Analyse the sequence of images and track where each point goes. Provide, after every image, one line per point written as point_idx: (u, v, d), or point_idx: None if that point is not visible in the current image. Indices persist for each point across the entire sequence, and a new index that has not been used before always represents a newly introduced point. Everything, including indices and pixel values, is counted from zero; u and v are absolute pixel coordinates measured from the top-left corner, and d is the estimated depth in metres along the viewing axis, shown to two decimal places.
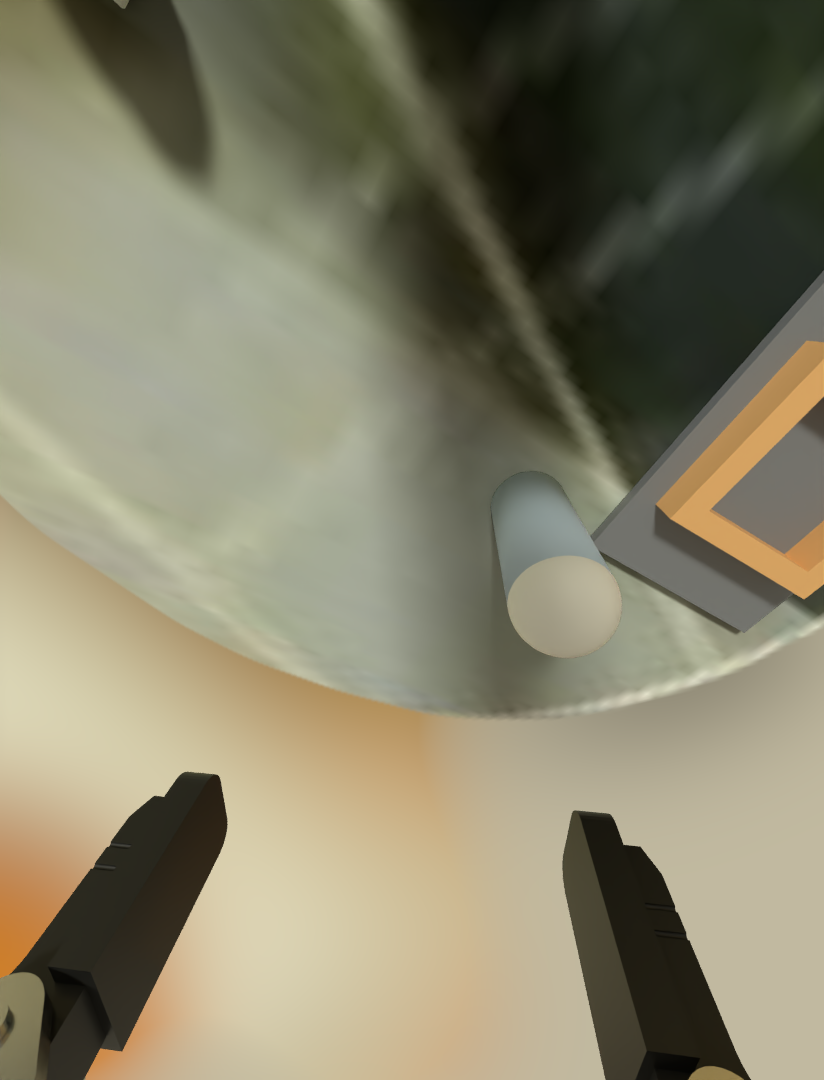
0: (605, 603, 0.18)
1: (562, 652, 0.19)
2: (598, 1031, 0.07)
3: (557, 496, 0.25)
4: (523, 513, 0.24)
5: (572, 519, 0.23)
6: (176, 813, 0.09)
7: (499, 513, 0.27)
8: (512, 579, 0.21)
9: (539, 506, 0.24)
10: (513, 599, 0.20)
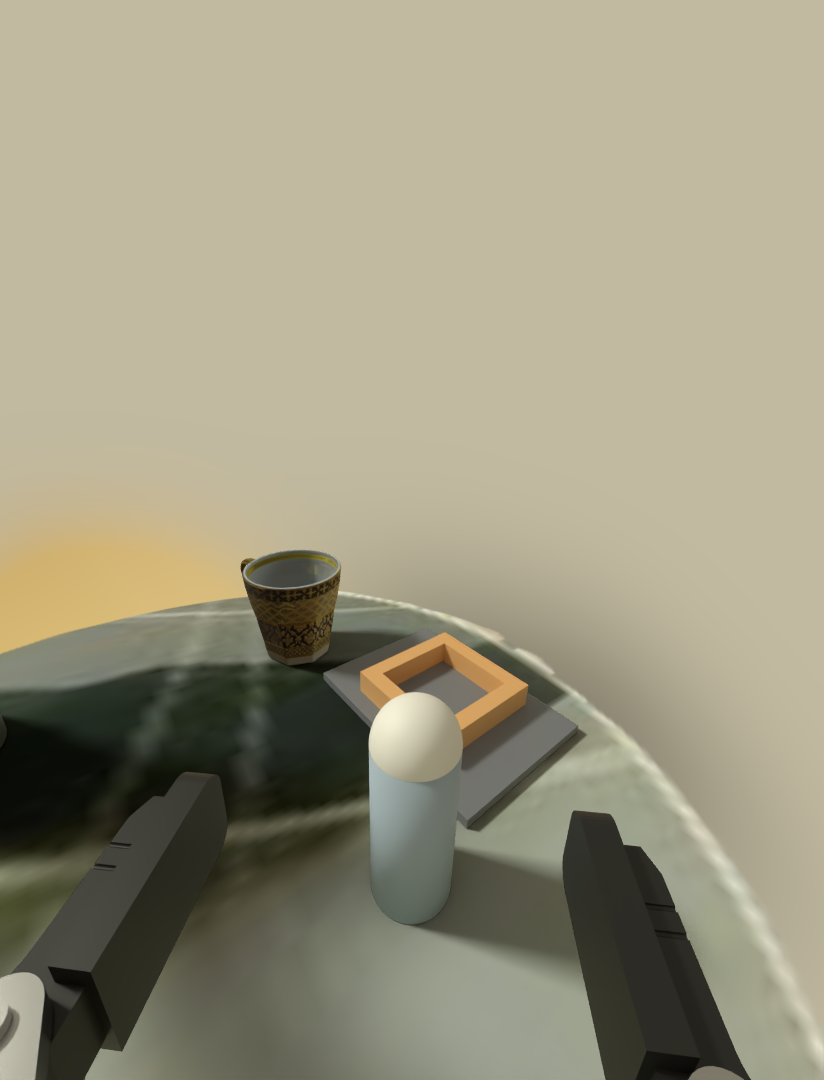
0: (402, 694, 0.24)
1: (434, 718, 0.22)
2: (598, 1031, 0.07)
3: None
4: None
5: None
6: (176, 813, 0.09)
7: (381, 870, 0.24)
8: (383, 777, 0.22)
9: None
10: (389, 762, 0.21)
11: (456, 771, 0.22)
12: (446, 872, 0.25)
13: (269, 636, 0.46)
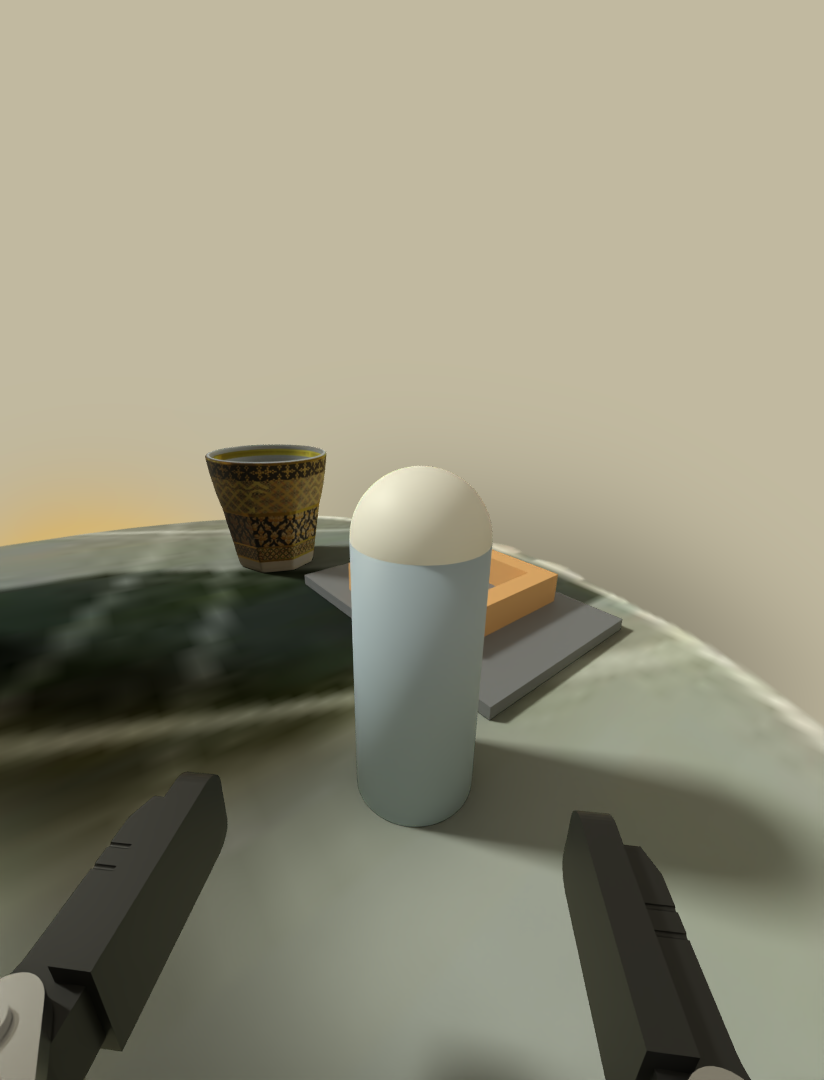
0: None
1: (450, 479, 0.14)
2: (598, 1031, 0.07)
3: None
4: None
5: None
6: (176, 813, 0.09)
7: (370, 742, 0.16)
8: (370, 569, 0.14)
9: None
10: (379, 538, 0.13)
11: (484, 567, 0.14)
12: (467, 747, 0.17)
13: (239, 534, 0.38)
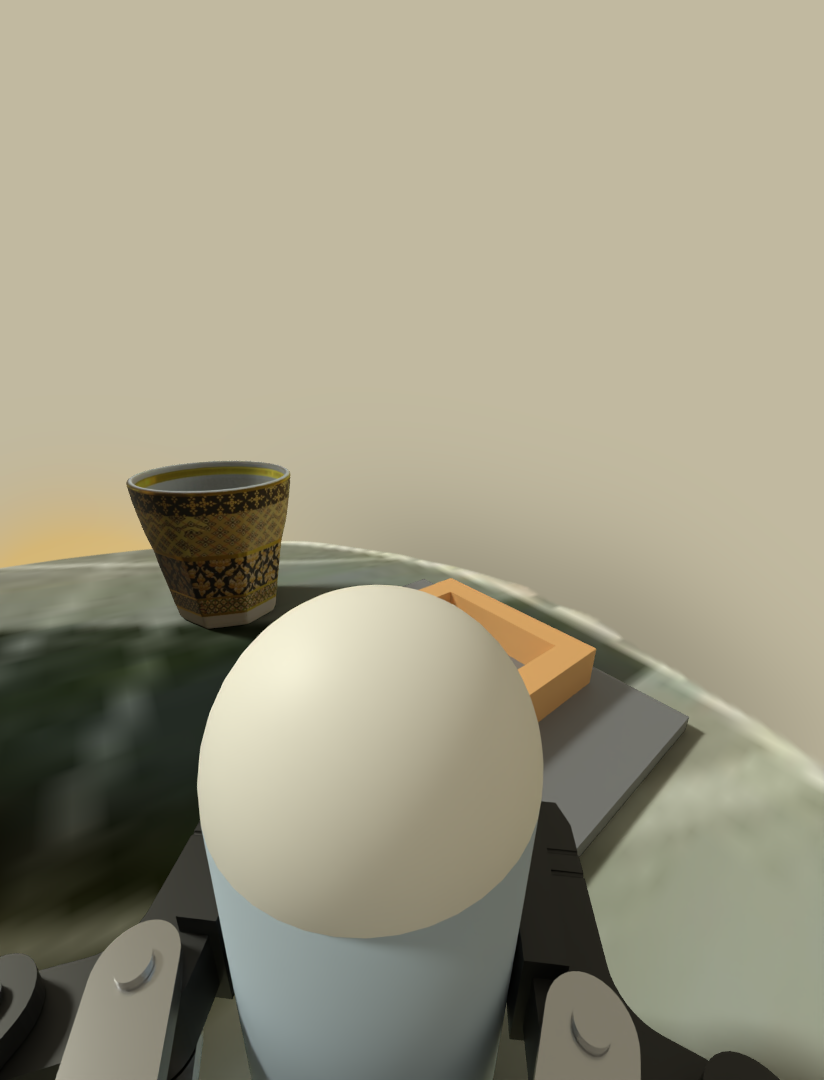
0: None
1: (441, 648, 0.05)
2: None
3: None
4: None
5: None
6: None
7: None
8: (229, 894, 0.05)
9: None
10: (238, 841, 0.05)
11: (526, 862, 0.06)
12: None
13: (175, 581, 0.29)
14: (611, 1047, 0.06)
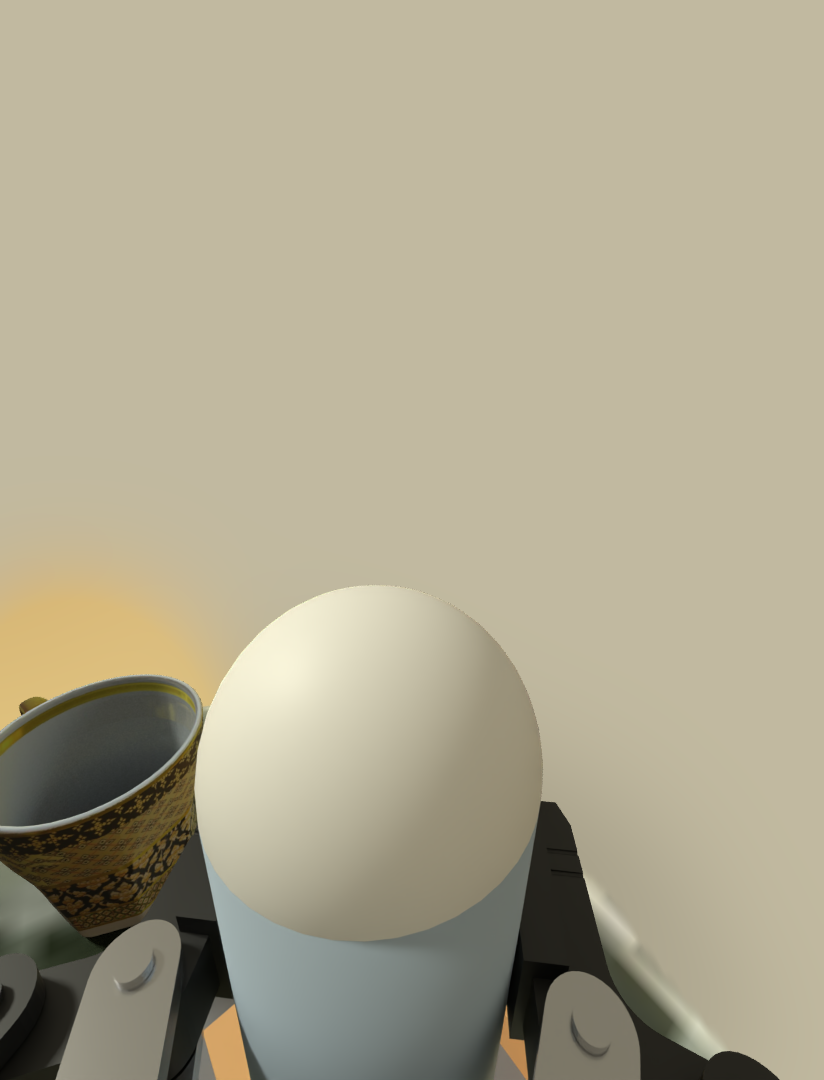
0: None
1: (439, 649, 0.05)
2: None
3: None
4: None
5: None
6: None
7: None
8: (226, 898, 0.05)
9: None
10: (235, 843, 0.05)
11: (526, 863, 0.06)
12: None
13: None
14: (611, 1047, 0.06)
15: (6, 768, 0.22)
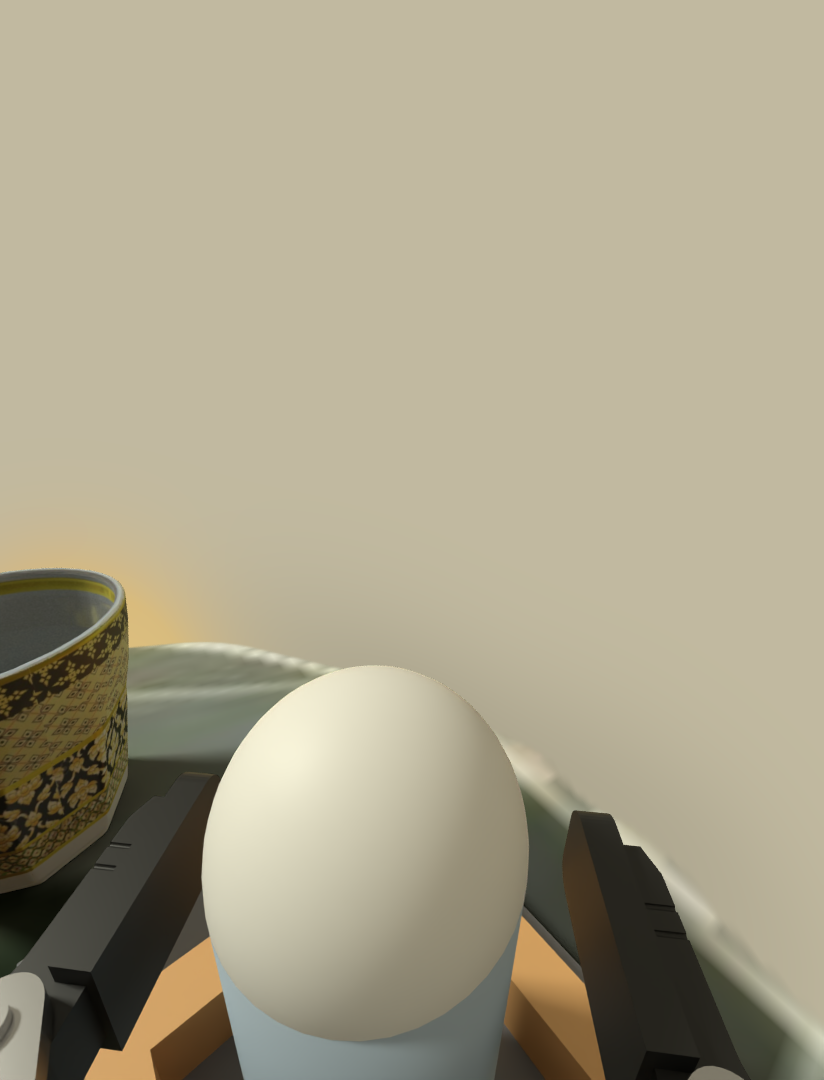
0: None
1: (430, 753, 0.06)
2: (598, 1031, 0.07)
3: None
4: None
5: None
6: (176, 813, 0.09)
7: None
8: (233, 986, 0.06)
9: None
10: (241, 947, 0.05)
11: (512, 947, 0.06)
12: None
13: None
14: None
15: None
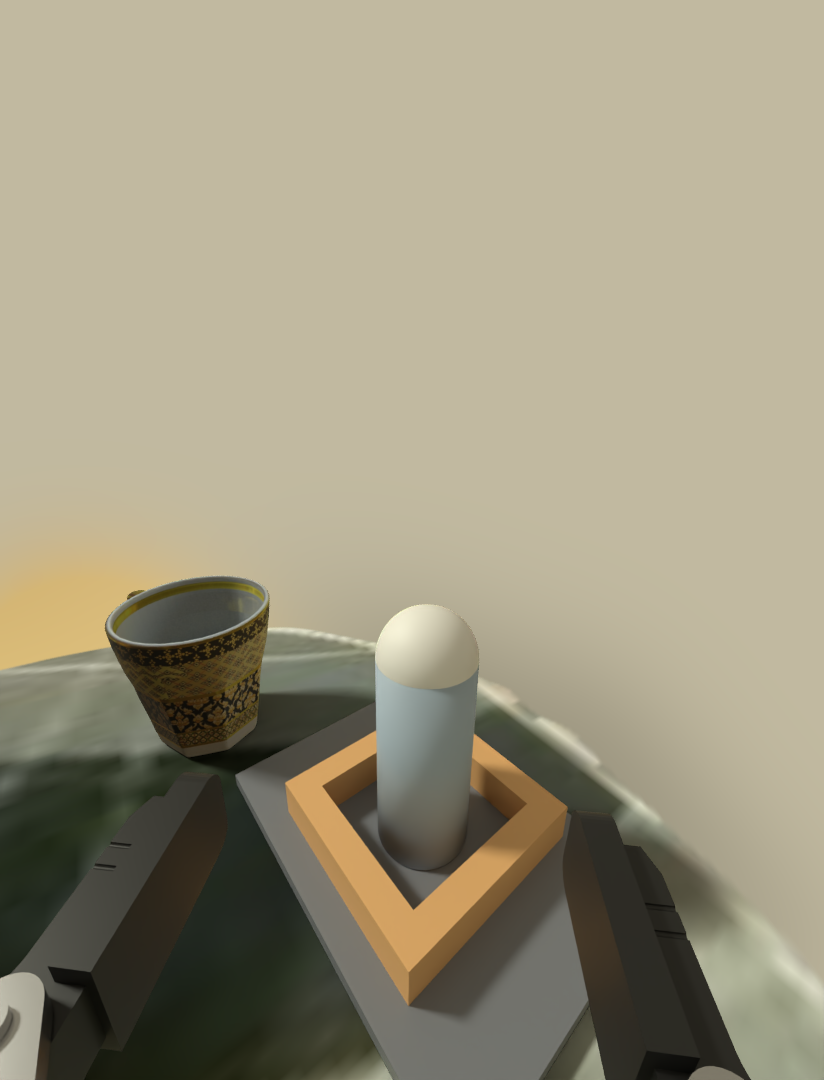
0: None
1: (448, 621, 0.20)
2: (598, 1031, 0.07)
3: None
4: None
5: None
6: (176, 813, 0.09)
7: (390, 807, 0.22)
8: (392, 688, 0.20)
9: None
10: (399, 668, 0.19)
11: (473, 683, 0.20)
12: (462, 808, 0.22)
13: (154, 714, 0.29)
14: None
15: (128, 630, 0.30)
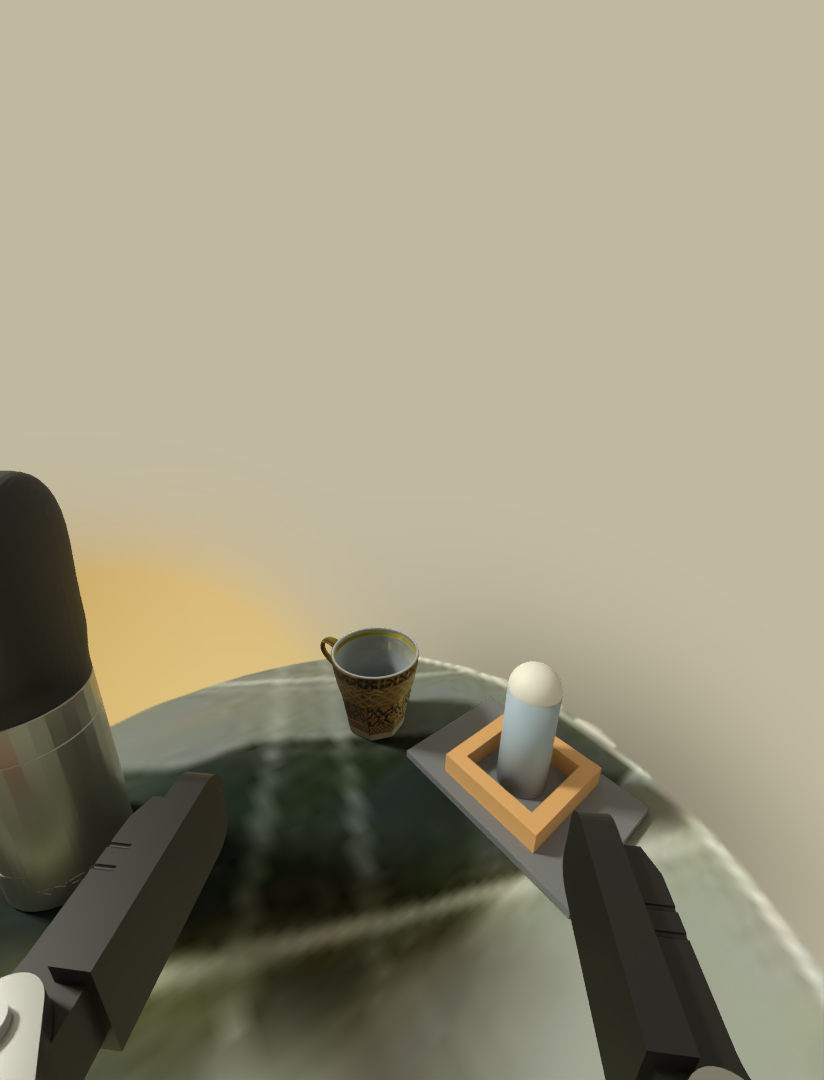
0: None
1: (549, 673, 0.40)
2: (598, 1031, 0.07)
3: None
4: (504, 735, 0.43)
5: None
6: (176, 813, 0.09)
7: (512, 766, 0.42)
8: (523, 706, 0.40)
9: (502, 730, 0.44)
10: (528, 696, 0.39)
11: (560, 703, 0.41)
12: (548, 766, 0.43)
13: (354, 715, 0.49)
14: None
15: None
